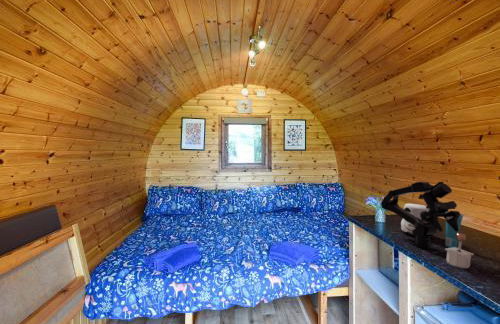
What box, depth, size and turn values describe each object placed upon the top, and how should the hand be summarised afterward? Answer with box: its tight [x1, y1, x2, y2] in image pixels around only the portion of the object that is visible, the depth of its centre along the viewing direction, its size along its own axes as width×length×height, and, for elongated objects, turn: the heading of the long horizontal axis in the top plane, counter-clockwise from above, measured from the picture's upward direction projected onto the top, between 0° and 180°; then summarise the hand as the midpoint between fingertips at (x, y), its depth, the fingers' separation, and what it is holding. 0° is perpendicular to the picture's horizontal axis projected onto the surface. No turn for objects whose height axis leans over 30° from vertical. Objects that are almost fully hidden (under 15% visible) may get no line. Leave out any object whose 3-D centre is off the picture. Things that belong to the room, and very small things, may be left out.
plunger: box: [456, 232, 466, 252], centre depth 112 cm, size 5×5×9 cm
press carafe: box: [444, 247, 475, 269], centre depth 112 cm, size 8×10×6 cm
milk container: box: [400, 203, 429, 237], centre depth 151 cm, size 17×17×18 cm
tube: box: [444, 211, 464, 248], centre depth 133 cm, size 7×5×19 cm, turn 47°
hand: (449, 231), depth 117 cm, fingers open, 9 cm apart
